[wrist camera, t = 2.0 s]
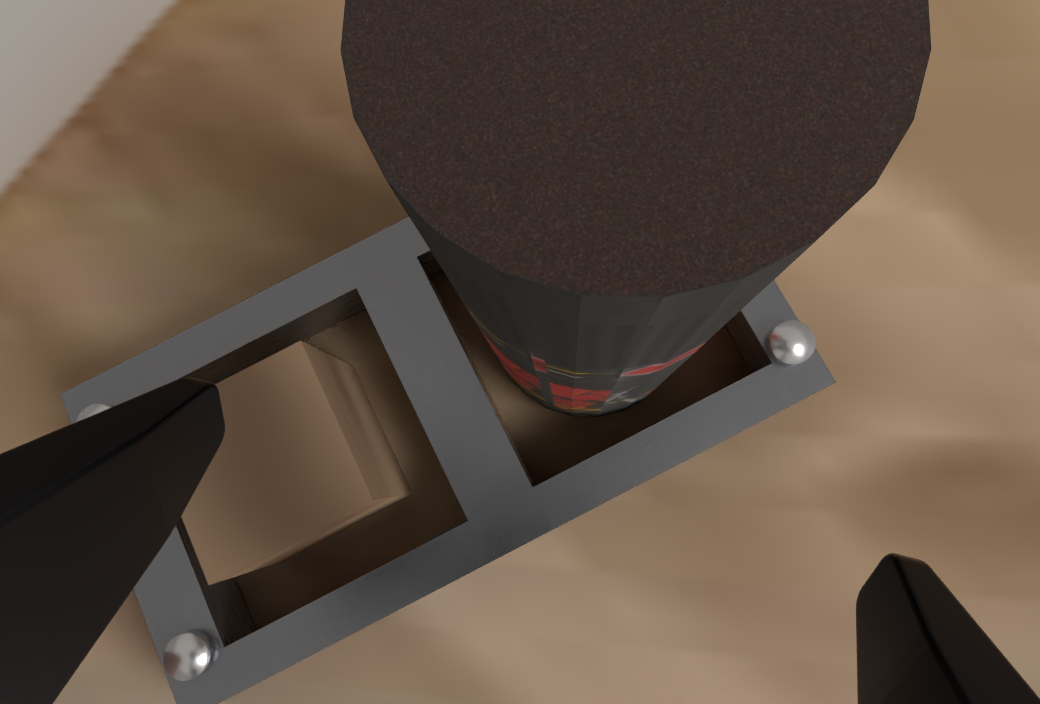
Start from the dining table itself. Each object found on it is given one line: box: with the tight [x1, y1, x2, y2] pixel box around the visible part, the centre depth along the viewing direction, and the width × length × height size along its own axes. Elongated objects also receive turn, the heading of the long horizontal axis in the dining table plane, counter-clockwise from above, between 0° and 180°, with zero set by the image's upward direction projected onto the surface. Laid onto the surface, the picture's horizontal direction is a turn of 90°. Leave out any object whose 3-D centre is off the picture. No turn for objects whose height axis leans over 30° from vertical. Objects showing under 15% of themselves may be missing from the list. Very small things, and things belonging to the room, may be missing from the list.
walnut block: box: [181, 341, 412, 585], centre depth 19 cm, size 4×4×4 cm
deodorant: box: [341, 0, 931, 417], centre depth 14 cm, size 6×6×15 cm
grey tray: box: [60, 217, 836, 704], centre depth 20 cm, size 20×10×2 cm, turn 117°
